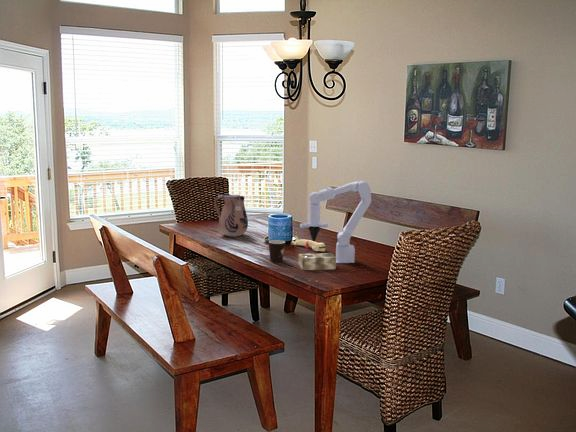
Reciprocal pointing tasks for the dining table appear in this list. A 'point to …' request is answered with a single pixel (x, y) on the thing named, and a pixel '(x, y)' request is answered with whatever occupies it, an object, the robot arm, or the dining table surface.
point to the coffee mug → (276, 250)
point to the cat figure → (309, 244)
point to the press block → (317, 261)
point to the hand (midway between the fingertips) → (313, 240)
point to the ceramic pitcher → (232, 215)
